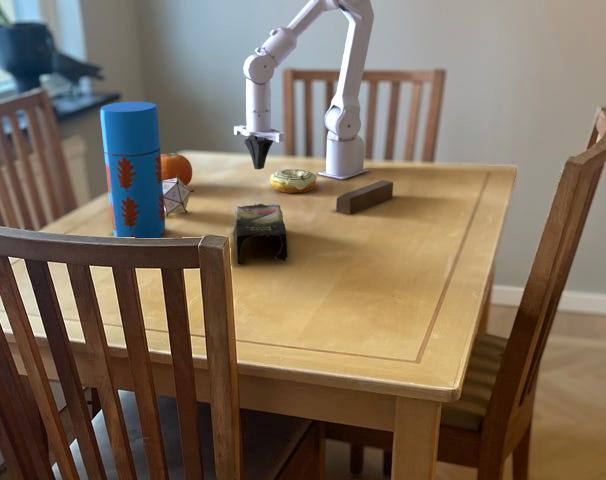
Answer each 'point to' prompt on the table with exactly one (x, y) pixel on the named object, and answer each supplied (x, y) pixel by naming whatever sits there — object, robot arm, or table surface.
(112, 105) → the thermos
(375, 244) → the table surface
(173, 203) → the game die
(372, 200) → the bar
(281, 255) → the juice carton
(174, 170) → the fruit
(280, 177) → the decorated donut
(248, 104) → the robot arm
